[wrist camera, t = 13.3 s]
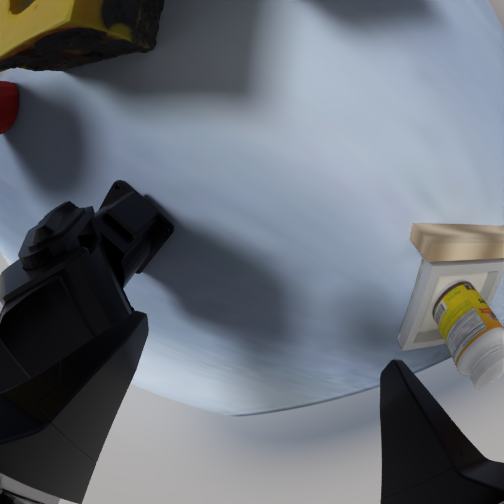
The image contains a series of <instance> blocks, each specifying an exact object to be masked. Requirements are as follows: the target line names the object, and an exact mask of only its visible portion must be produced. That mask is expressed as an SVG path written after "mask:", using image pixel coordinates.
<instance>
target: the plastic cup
mask: <svg viewBox="0 0 504 504" xmlns="http://www.w3.org/2000/svg"><path fill="white" fill-rule="evenodd" d="M18 106H19V94H18V89H17V87H16V86H15V84H14V83H10V82H7V81H0V134H2V133H4V132H6V130H8V129H10V127H11V126H12V125H13V123H14V121H15V119H16V116H17V112H18Z"/></svg>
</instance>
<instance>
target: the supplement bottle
mask: <svg viewBox="0 0 504 504" xmlns="http://www.w3.org/2000/svg"><path fill="white" fill-rule="evenodd" d="M432 316H433V319H434V321H435V323H436V325H437V327H438V329H439V331H440V333H441V335H442V337H443V339H444V341H445V343H446V345H447V347H448V349H449V351H450V353H451V356H452V358H453V360H454V362H455V365H456V367H457V369H458V371H459V373H460V374H462V375H464V376H470V377H471V380H472V381H473V384H474V386H475V388H477V389H480V388H483V387H486V386H488V385H489V384H491V383H492V382H494V381H495V380H496V379H498V378H499V377H500V376H501V375H502V374H503V373H504V328H503V327H502V325H501V324H500V322H499V321H498V319H497V318H496V316H495V315H494V313H493V312H492V310H491V309H490V308H489V306H488V305H487V303H486V302H485V301H484V299H483V298H482V297H481V295H480V294H479V293H478V291H477V290H476V289H475V287H474V286H473V285H472V284H471V283H470V282H469V281H466V280H456V281H454V282H452V283H450V284H448V285H447V286H446V287H444V288H443V289H442V290H441V291H440V293H439V294H438V295H437V297H436V298H435V300H434V303H433V306H432Z"/></svg>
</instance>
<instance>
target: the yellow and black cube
mask: <svg viewBox="0 0 504 504" xmlns="http://www.w3.org/2000/svg"><path fill="white" fill-rule="evenodd" d="M163 4H164V0H0V72H1V71H4V70H7V69H10V68H13V69H14V68H17V67H18V68H24V69H27V70H33V71H44V70H51V71H63V70H64V69H66V68H72V67H75V66H82V65H84V64H88V63H93V62H97V61H100V60H103V59H109V58H113V57H117V56H119V55H124V54H128V53H132V52H142V53H145V52H147V51H149V50H152V49H153V48H154V47H155V45H156V40H155V38H156V34H157V31H158V28H159V23H158V22H159V18H160V12H161V11H162V10H163Z"/></svg>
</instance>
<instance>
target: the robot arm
mask: <svg viewBox="0 0 504 504" xmlns="http://www.w3.org/2000/svg"><path fill="white" fill-rule="evenodd" d="M118 185H119V186H120V188H118ZM166 227H167V228H169V229H170V231H168V230H166ZM173 232H174V226H173V225H172V224H171V223H170V222H169V221H168V220H167V219H165V218H164V217H163V216H162V215H161V214H160V213H158V211H157V210H156V209H155V208H154V207H153V206H152V205H151V204H150V203H148V202H147V201H146V200H145V199H144V198H143V197H142V196H140V195H139V194H138V193H137V192H136V191H133V190H132V189H131V188H130V187H129V186H128V185H126V184H125V183H124V182H123V181H121V180H118V181H116V182H114V183H113V185H112V187H111V189H110V190H109V192H108V194H107V196H106V197H105V199H104V201H103V203H102V205H101V207H100V209H99V211H97V212H96V213H95V212H94V209H93V206H90V207H86V208H79V207H76V206H75V205H74V204H73V203H72V202H70V201H68V202H65V203H63V204H61V205H60V206H58V207H56V208H55V209H53V210H52V211H50V212H49V213H48V214H47V215H46V216H45V217H44V218H43V219H42V220H41V221H40V222H39V223H38V225H37V226H35V227H33V228H32V229H30V230H29V231H28V233H27V235H26V237H25V240H24V242H23V244H22V247H21V249H20V251H19V254H18V256H19V258H20V259H19V260H17V261H16V262H14V263H13V264H12V265H10V266H9V267H8V268H7V269H5V270H4V271H3V272H2V274H1V275H0V504H58V502H59V500H60V498H61V499H65V500H68V501H71V502H75V503H78V504H82V501H83V499H84V496H85V493H86V490H87V487H88V484H89V481H90V479H91V476H92V474H93V471H94V468H95V465H96V462H97V460H98V457H99V455H100V452H101V450H102V447H103V445H104V442H105V440H106V438H107V435H108V433H109V430H110V428H111V425H112V423H113V421H114V419H115V416H116V414H117V411H118V409H119V407H120V405H121V403H122V400H123V398H124V396H125V394H126V391H127V389H128V387H129V385H130V383H131V381H132V378H133V376H134V374H135V371H136V369H137V366H138V363H139V360H140V357H141V354H142V351H143V348H144V345H145V342H146V339H147V336H148V331H149V329H148V318H147V314H145V313H143V312H139V311H135V310H134V308H133V307H131V305H130V303H129V301H128V299H127V296H126V294H125V292H124V290H123V288H124V287H125V286H126V284H127V283H128V282H129V280H130V279H131V278H132V276H133V275H134V274H135V273H137V274H140V273H141V272H142V271H143V269H144V268H145V267H146V265H147V264H148V263H149V262H150V260H151V259H152V258H153V256H154V255H155V254H156V253H157V251H158V250H159V249H160V248H161V246H162V245H163V244H164V243H165V242H166V240H167V239H168V238H169V237H170V235H171V234H172V233H173ZM138 268H139V269H138ZM380 421H381V440H382V441H381V442H382V486H381V504H504V463H502V462H495V461H491V460H489V459H487V458H485V457H484V456H483V455H482V454H481V453H480V452H479V451H478V449H477V448H476V447H475V446H474V445H473V444H472V443H471V442H470V441H469V440H468V438H466V436H465V435H464V434H463V433H462V432H461V431H460V429H459V428H458V427H457V426H456V424H455V423H454V422H453V421H452V420H451V418H450V417H449V416H448V414H447V413H446V412H445V411H444V409H443V408H442V407H441V406H440V404H439V403H438V402H437V401H436V400H435V399H434V397H433V396H432V395H431V394H430V392H429V391H428V390H427V389H426V388H425V387H424V385H423V384H422V383H421V382H420V380H419V379H418V378H417V377H416V376H415V375H414V373H413V372H412V371H411V370H410V369H409V368H408V366H407V365H406V364H405V363H404V362H403V361H402V360H396V359H394V360H391V361H390V363H389V364H388V365H387V366H386V367H385V369H384V370H383V371H382V373H381V376H380Z"/></svg>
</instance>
